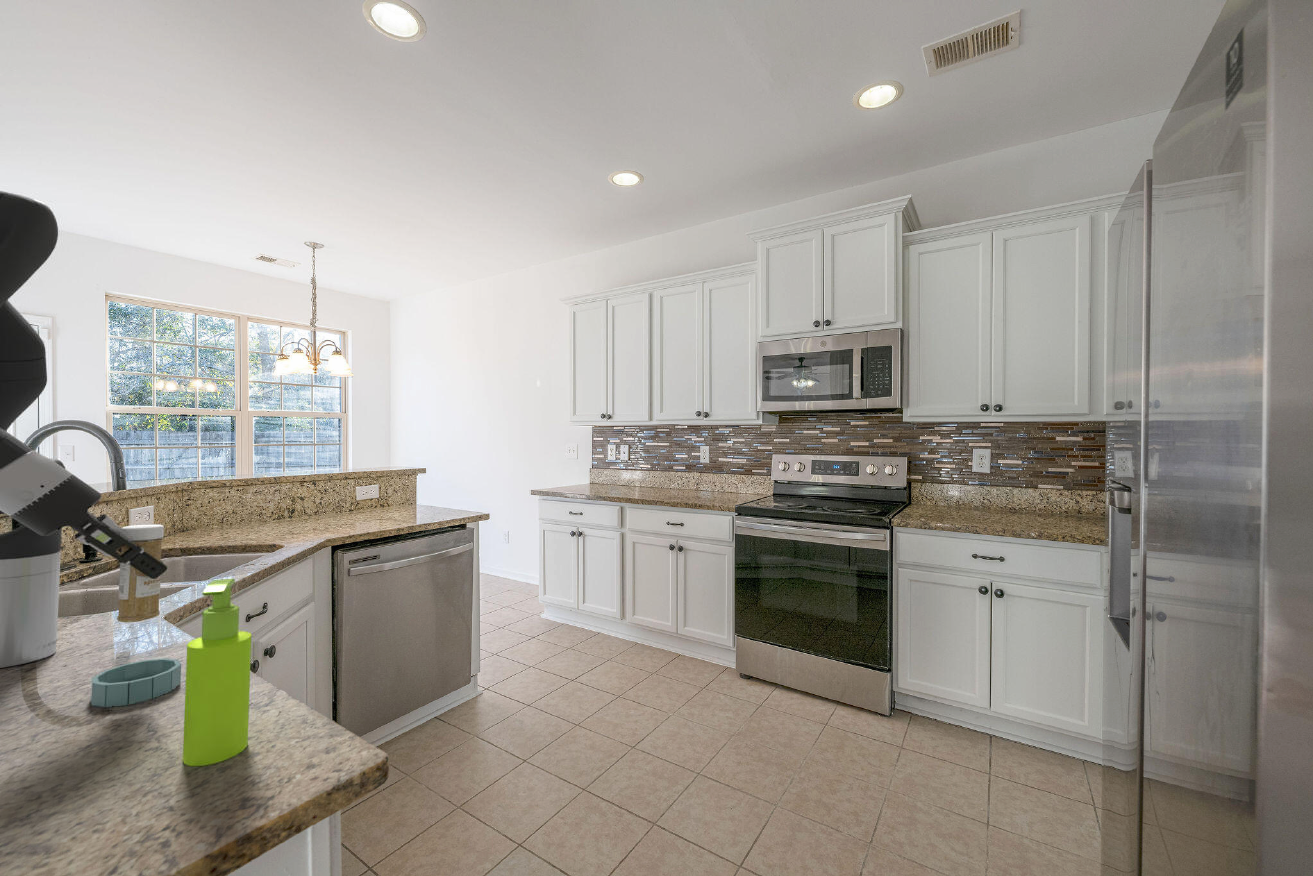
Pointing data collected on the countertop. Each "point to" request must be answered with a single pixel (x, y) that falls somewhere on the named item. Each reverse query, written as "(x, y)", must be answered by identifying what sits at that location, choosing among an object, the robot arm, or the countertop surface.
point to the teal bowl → (135, 682)
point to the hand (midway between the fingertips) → (158, 570)
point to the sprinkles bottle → (140, 577)
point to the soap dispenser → (217, 683)
